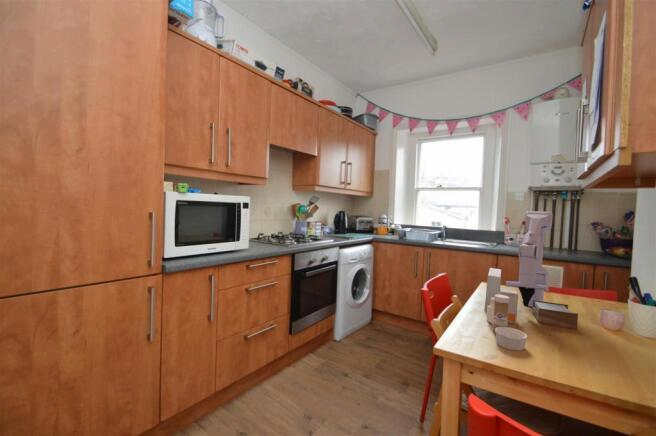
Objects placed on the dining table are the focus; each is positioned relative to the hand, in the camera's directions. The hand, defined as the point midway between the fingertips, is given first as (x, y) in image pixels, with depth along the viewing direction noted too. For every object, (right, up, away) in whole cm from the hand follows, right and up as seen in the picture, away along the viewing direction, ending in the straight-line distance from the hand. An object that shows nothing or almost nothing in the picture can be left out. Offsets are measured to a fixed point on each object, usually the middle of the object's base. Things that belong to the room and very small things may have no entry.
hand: (525, 305), depth 121 cm
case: (+8, -5, -4) cm, 11 cm away
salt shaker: (-18, -5, -8) cm, 20 cm away
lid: (+8, -1, -4) cm, 9 cm away
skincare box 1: (-7, -4, +13) cm, 15 cm away
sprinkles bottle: (-21, -5, -17) cm, 27 cm away
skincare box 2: (-11, -5, -5) cm, 13 cm away
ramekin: (-23, -5, -26) cm, 35 cm away
